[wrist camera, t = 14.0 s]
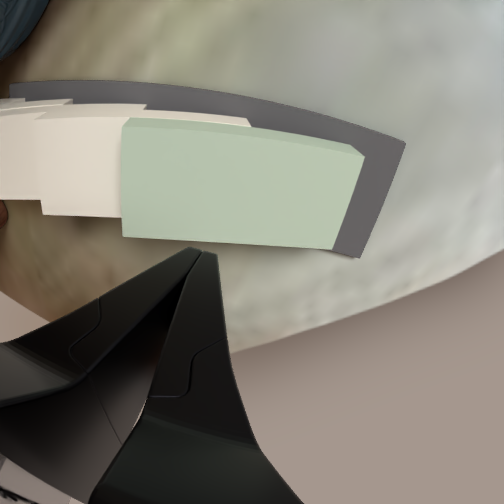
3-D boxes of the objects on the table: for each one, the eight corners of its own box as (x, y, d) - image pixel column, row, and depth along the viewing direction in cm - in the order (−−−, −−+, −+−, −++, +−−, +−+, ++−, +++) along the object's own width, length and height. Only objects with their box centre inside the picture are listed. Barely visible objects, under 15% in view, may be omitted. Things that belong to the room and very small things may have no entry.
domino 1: (146, 104, 14) (-10, 112, 12) (142, 110, 13) (-24, 119, 11) (141, 189, 17) (-2, 187, 15) (137, 202, 16) (-13, 199, 14)
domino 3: (350, 144, 14) (130, 117, 12) (365, 156, 13) (121, 126, 11) (321, 231, 17) (128, 218, 15) (331, 249, 16) (122, 236, 13)
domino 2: (246, 118, 14) (47, 111, 12) (251, 126, 13) (32, 120, 11) (230, 208, 17) (53, 199, 15) (233, 224, 16) (43, 214, 14)
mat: (13, 83, 14) (9, 84, 14) (403, 141, 14) (406, 143, 13) (18, 173, 18) (15, 175, 18) (358, 254, 18) (359, 258, 17)
